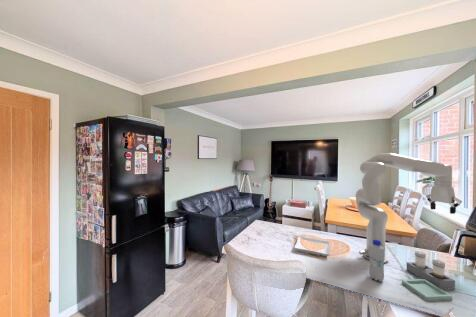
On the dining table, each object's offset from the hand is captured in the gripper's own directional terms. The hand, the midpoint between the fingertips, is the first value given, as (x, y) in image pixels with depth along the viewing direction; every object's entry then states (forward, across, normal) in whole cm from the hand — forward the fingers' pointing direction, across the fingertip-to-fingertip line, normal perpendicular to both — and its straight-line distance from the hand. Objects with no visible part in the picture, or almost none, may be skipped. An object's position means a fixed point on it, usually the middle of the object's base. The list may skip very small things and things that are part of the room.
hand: (442, 211), depth 121 cm
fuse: (+30, +9, -31) cm, 44 cm away
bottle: (+30, +8, -60) cm, 67 cm away
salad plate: (+31, -28, -72) cm, 83 cm away
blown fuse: (+30, +18, -33) cm, 48 cm away
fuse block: (+30, +14, -32) cm, 46 cm away
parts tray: (+30, +21, -45) cm, 58 cm away
